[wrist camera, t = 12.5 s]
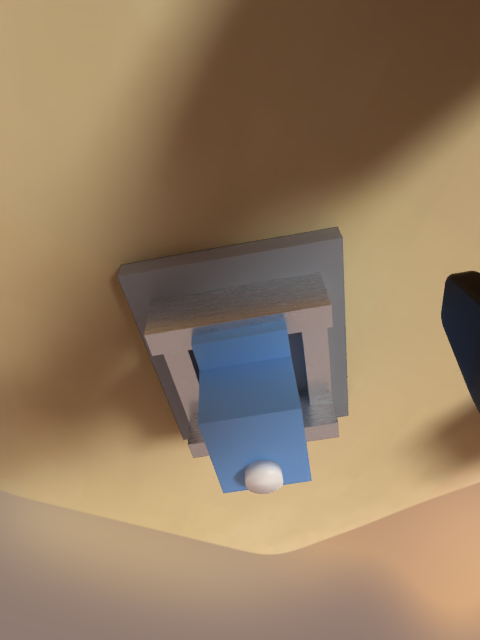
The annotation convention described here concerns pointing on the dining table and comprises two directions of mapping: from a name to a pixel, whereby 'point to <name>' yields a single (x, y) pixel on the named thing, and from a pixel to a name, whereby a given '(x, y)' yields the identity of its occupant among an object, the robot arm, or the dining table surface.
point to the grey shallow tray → (247, 318)
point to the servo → (251, 408)
